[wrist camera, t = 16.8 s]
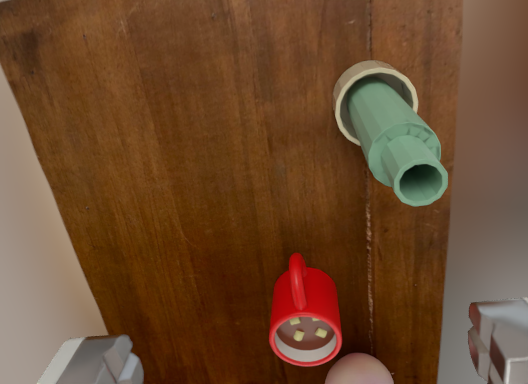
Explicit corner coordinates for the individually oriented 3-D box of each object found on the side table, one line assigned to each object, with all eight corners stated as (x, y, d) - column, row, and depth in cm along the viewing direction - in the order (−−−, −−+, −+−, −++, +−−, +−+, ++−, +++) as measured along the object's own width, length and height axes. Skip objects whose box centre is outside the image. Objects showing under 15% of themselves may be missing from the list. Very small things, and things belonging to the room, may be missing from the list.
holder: (327, 67, 39) (330, 76, 35) (405, 53, 37) (417, 61, 33) (336, 137, 41) (339, 152, 37) (407, 126, 40) (419, 141, 36)
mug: (325, 233, 47) (330, 276, 40) (341, 313, 52) (347, 363, 45) (259, 243, 48) (251, 286, 41) (280, 320, 53) (277, 370, 46)
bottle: (343, 81, 38) (376, 151, 21) (391, 73, 38) (464, 138, 21) (348, 125, 40) (381, 222, 23) (394, 118, 40) (462, 213, 23)
